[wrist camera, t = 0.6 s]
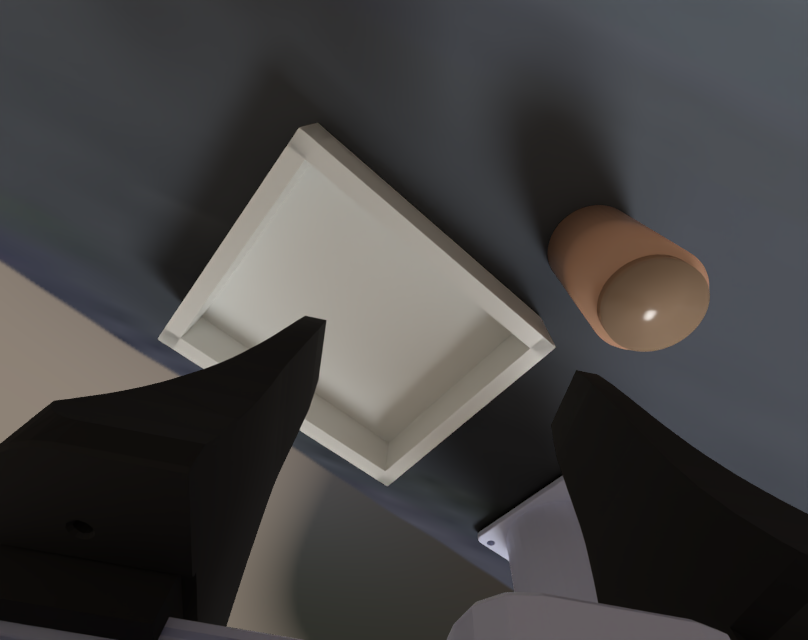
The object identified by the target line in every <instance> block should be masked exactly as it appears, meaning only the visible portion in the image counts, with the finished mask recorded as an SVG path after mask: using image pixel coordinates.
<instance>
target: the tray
mask: <svg viewBox="0 0 808 640" xmlns="http://www.w3.org/2000/svg"><path fill="white" fill-rule="evenodd" d="M304 316H309V317H314V318H319V319H324V320H327V321H326V328H325V336H324V343H323V350H322V358H321V365H320V373H319V380H318V383H317V386H316V390H315V393H314V396H313V399H312V402H311V405H310V408H309V410H308V413H307V415H306V417H305V419H304V421H303V423H302V426H301V428H300V431H302V432H303V433H305V434H306V435H308V436H309V437H311V438H313V439H314V440H316V441H317V442H319V443H320V444H322V445H324V446H325V447H327V448H328V449H330V450H331V451H333V452H334V453H336V454H338V455H339V456H341V457H342V458H344V459H345V460H347V461H349V462H350V463H352V464H353V465H355V466H356V467H358V468H359V469H361V470H363V471H364V472H366V473H367V474H369V475H370V476H372V477H374V478H375V479H377V480H378V481H380V482H381V483H383V484H384V485H386V486H389V485H390V484H391V483H392V482H393V481H395V480H396V479H397V478H398V477H399V476H401V475H402V474H403V473H404V472H406V471H407V470H408V469H409V468H410V467H412V466H413V465H414V464H415V463H416V462H418V461H419V460H420V459H421V458H422V457H424V456H425V455H426V454H427V453H429V452H430V451H431V450H432V449H433V448H435V447H436V446H437V445H438V444H439V443H441V442H442V441H443V440H444V439H446V438H447V437H448V436H449V435H450V434H452V433H453V432H454V431H455V430H456V429H458V428H459V427H460V426H461V425H462V424H464V423H465V422H466V421H467V420H469V419H470V418H471V417H472V416H473V415H475V414H476V413H477V412H478V411H479V410H481V409H482V408H483V407H484V406H485V405H487V404H488V403H489V402H490V401H492V400H493V399H494V398H495V397H496V396H498V395H499V394H500V393H501V392H502V391H504V390H505V389H506V388H507V387H509V386H510V385H511V384H512V383H513V382H515V381H516V380H517V379H518V378H519V377H521V376H522V375H523V374H524V373H525V372H527V371H528V370H529V369H530V368H532V367H533V366H534V365H535V364H536V363H538V362H539V361H540V360H541V359H542V358H544V357H545V356H546V355H547V354H549V353H550V352H551V351H552V350H553V349H555V348H556V347H555V345H554V343H553V341H552V339H551V337H550V335H549V333H548V331H547V329H546V327H545V325H544V323H543V321H542V319H541V317H540V316H539V315H538V314H536V313H535V312H534V311H533V310H532V309H531V308H529V307H528V306H527V305H526V304H525V303H524V302H523V301H521V300H520V299H519V298H518V297H517V296H516V295H515V294H513V293H512V292H511V291H510V290H509V289H508V288H507V287H505V286H504V285H503V284H502V283H501V282H500V281H499V280H497V279H496V278H495V277H494V276H493V275H492V274H491V273H489V272H488V271H487V270H486V269H485V268H484V267H483V266H481V265H480V264H479V263H478V262H477V261H476V260H475V259H473V258H472V257H471V256H470V255H469V254H468V253H466V252H465V251H464V250H463V249H462V248H461V247H460V246H458V245H457V244H456V243H455V242H454V241H453V240H452V239H450V238H449V237H448V236H447V235H446V234H445V233H444V232H442V231H441V230H440V229H439V228H438V227H437V226H436V225H434V224H433V223H432V222H431V221H430V220H429V219H428V218H426V217H425V216H424V215H423V214H422V213H421V212H420V211H418V210H417V209H416V208H415V207H414V206H413V205H412V204H410V203H409V202H408V201H407V200H406V199H405V198H404V197H402V196H401V195H400V194H399V193H398V192H397V191H395V190H394V189H393V188H392V187H391V186H390V185H389V184H387V183H386V182H385V181H384V180H383V179H382V178H381V177H379V176H378V175H377V174H376V173H375V172H374V171H373V170H371V169H370V168H369V167H368V166H367V165H366V164H365V163H363V162H362V161H361V160H360V159H359V158H358V157H357V156H355V155H354V154H353V153H352V152H351V151H350V150H349V149H347V148H346V147H345V146H344V145H343V144H342V143H341V142H339V141H338V140H337V139H336V138H335V137H334V136H333V135H331V134H330V133H329V132H328V131H327V130H326V129H324V128H323V127H322V126H321V125H320V124H319V123H314V124H310V125H306V126H302V127H299V128H298V130H297V131H296V133H295V134H294V136H293V137H292V139H291V140H290V142H289V143H288V145H287V146H286V148H285V149H284V151H283V152H282V154H281V155H280V157H279V158H278V160H277V161H276V163H275V164H274V166H273V167H272V169H271V170H270V172H269V173H268V175H267V176H266V178H265V179H264V181H263V182H262V184H261V185H260V187H259V188H258V190H257V191H256V193H255V194H254V196H253V197H252V199H251V200H250V202H249V203H248V205H247V206H246V208H245V209H244V211H243V212H242V213H241V215H240V216H239V218H238V219H237V221H236V222H235V224H234V225H233V227H232V228H231V230H230V231H229V233H228V234H227V236H226V237H225V239H224V240H223V242H222V243H221V245H220V246H219V248H218V249H217V251H216V252H215V254H214V255H213V257H212V258H211V260H210V261H209V263H208V264H207V266H206V267H205V269H204V270H203V272H202V273H201V275H200V276H199V278H198V279H197V281H196V282H195V284H194V285H193V287H192V288H191V290H190V291H189V293H188V294H187V296H186V297H185V299H184V300H183V302H182V303H181V305H180V306H179V308H178V309H177V311H176V312H175V314H174V315H173V317H172V318H171V320H170V321H169V323H168V324H167V326H166V327H165V329H164V330H163V332H162V333H161V335H160V336H159V338H158V340H159V341H161V342H163V343H164V344H166V345H167V346H169V347H170V348H172V349H173V350H175V351H177V352H178V353H180V354H181V355H183V356H184V357H186V358H188V359H189V360H191V361H192V362H194V363H195V364H197V365H199V366H200V367H202V368H203V369H205V368H208V367H210V366H213V365H216V364H218V363H221V362H223V361H225V360H228V359H230V358H232V357H234V356H237V355H239V354H240V353H242V352H244V351H246V350H248V349H250V348H252V347H254V346H256V345H258V344H260V343H262V342H263V341H265V340H267V339H268V338H270V337H272V336H273V335H275V334H277V333H278V332H280V331H281V330H283V329H284V328H286V327H288V326H289V325H291V324H292V323H294V322H295V321H297V320H299V319H300V318H302V317H304Z"/></svg>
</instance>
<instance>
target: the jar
mask: <svg viewBox="0 0 808 640" xmlns="http://www.w3.org/2000/svg"><path fill="white" fill-rule="evenodd" d="M548 261H549V265H550V267H551V269H552V271H553V272H554V274H555V275H556V277H557V278H558V280H559V281H560V282H561V284H562V285H563V287H564V288H565V289H566V291H567V292H568V294H569V295H570V297H571V298H572V299H573V301H574V302H575V304H576V305H577V307H578V308H579V309H580V311H581V312H582V314H583V315H584V317H585V318H586V319H587V321H588V322H589V324H590V325H591V326H592V328H593V329H594V331H595V332H596V334H597V335H598V336H599V337H600V338H601V339H603V340H604V341H605V342H607V343H609V344H610V345H612V346H615V347H618V348H622V349H627V350H633V351H643V352H647V351H656V350H660V349H664V348H667V347H669V346H672V345H674V344H676V343H678V342H680V341H681V340H683V339H684V338H686V337H687V336H688V335H689V334H691V333H692V332H693V331H694V330H695V329H696V327H697V326H698V325H699V324H700V322H701V321H702V319H703V318H704V316H705V314H706V311H707V308H708V305H709V298H710V293H709V280H708V275H707V272H706V270H705V268H704V266H703V265H702V263H701V262H700V261H699V260H698V259H697V258H696V257H695V256H694V255H692V254H691V253H689V252H688V251H686V250H684V249H683V248H681V247H679V246H678V245H676V244H674V243H673V242H671V241H670V240H668V239H666V238H665V237H663V236H661V235H660V234H658V233H656V232H655V231H653V230H651V229H650V228H648V227H646V226H645V225H643V224H641V223H640V222H638V221H636V220H635V219H633V218H631V217H630V216H628V215H626V214H625V213H623V212H622V211H620V210H618V209H616V208H614V207H610V206H606V205H592V206H587V207H584V208H581V209H578V210H576V211H574V212H573V213H571V214H570V215H568V216H567V217H566V218H564V219H563V220H562V221H561V222H560V223H559V225H558V226H557V227H556V229H555V230H554V232H553V234H552V236H551V238H550V241H549V244H548Z"/></svg>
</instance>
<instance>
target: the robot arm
mask: <svg viewBox="0 0 808 640" xmlns="http://www.w3.org/2000/svg"><path fill="white" fill-rule="evenodd" d="M326 321H327V320H324V319H319V318H314V317H309V316H304V317H302V318H300V319H299V320H297V321H295V322H294V323H292V324H291V325H289V326H288V327H286V328H284V329H283V330H281V331H280V332H278V333H277V334H275V335H273V336H272V337H270V338H268V339H267V340H265V341H263V342H262V343H260V344H258V345H256V346H254V347H252V348H250V349H248V350H246V351H244V352H242V353H240V354H239V355H237V356H234V357H232V358H230V359H228V360H225V361H223V362H221V363H218V364H216V365H213V366H210V367H208V368H205V369H203V370H200V371H197V372H193V373H190V374H187V375H184V376H180V377H177V378H174V379H171V380H167V381H164V382H160V383H156V384H152V385H148V386H143V387H139V388H134V389H129V390H124V391H119V392H114V393H108V394H101V395H94V396H87V397H80V398H73V399H65V400H57V401H53V402H52V403H51V404H50V405H48V406H47V407H45V408H44V409H43V410H42V411H40V412H39V413H38V414H37V415H35V416H34V417H33V418H32V419H30V420H29V421H28V422H27V423H25V424H24V425H23V426H22V427H20V428H19V429H18V430H17V431H15V432H14V433H13V434H12V435H11V436H9V437H8V438H7V439H6V440H5V441H3V442H2V443H1V444H0V640H302V639H296V638H290V637H284V636H279V635H273V634H267V633H261V632H255V631H249V630H243V629H237V628H231V627H226V626H227V622H228V619H229V616H230V613H231V610H232V606H233V603H234V600H235V597H236V594H237V591H238V588H239V585H240V582H241V579H242V576H243V573H244V570H245V567H246V563H247V560H248V558H249V555H250V552H251V548H252V546H253V543H254V540H255V537H256V534H257V531H258V528H259V525H260V522H261V519H262V517H263V514H264V511H265V508H266V505H267V502H268V499H269V497H270V494H271V491H272V488H273V486H274V484H275V481H276V479H277V476H278V474H279V472H280V470H281V467H282V465H283V463H284V461H285V459H286V457H287V455H288V453H289V451H290V449H291V447H292V444H293V442H294V440H295V438H296V436H297V434H298V432H299V430H300V428H301V426H302V423H303V421H304V419H305V417H306V415H307V413H308V410H309V408H310V405H311V402H312V399H313V396H314V393H315V390H316V386H317V383H318V380H319V373H320V365H321V358H322V350H323V343H324V336H325V328H326ZM551 428H552V434H553V441H554V446H555V451H556V456H557V460H558V463H559V466H560V469H561V472H562V475H563V476H561V477H559V478H558V479H556V480H555V481H554V482H552V483H551V484H549V485H548V486H546V487H545V488H543V489H542V490H540V491H539V492H537V493H536V494H534V495H533V496H531V497H530V498H528V499H527V500H526V501H524V502H523V503H521V504H520V505H518V506H517V507H515V508H514V509H512V510H511V511H509V512H508V513H506V514H505V515H503V516H502V517H500V518H499V519H498V520H496V521H495V522H493V523H492V524H490V525H489V526H487V527H486V528H484V529H483V530H481V531H480V532H479V533H478V541H479V542H480V543H482V544H483V545H485V546H486V547H488V548H490V549H491V550H493V551H494V552H496V553H497V554H499V555H500V556H502V557H504V558H505V559H507V560H508V561H509V562H510V568H511V574H512V579H513V585H514V591H515V592H505V593H502V594H499V595H496V596H493V597H490V598H487V599H484V600H481V601H477V602H476V603H475V604H473V606H472V607H471V608H470V609H468V610H467V612H465V613H464V614H463V616H461V617H460V618H459V619H458V621H457V622H456V623H454V625H453V627H452V629H451V631H450V634H449V636H448V638H447V640H808V514H807V513H805V512H803V511H801V510H799V509H797V508H795V507H793V506H791V505H789V504H787V503H785V502H783V501H782V500H780V499H778V498H776V497H774V496H772V495H771V494H769V493H767V492H765V491H763V490H762V489H760V488H758V487H756V486H755V485H753V484H751V483H749V482H748V481H746V480H744V479H742V478H741V477H739V476H737V475H736V474H734V473H733V472H731V471H729V470H728V469H726V468H725V467H723V466H722V465H720V464H718V463H717V462H715V461H714V460H712V459H711V458H709V457H707V456H706V455H704V454H703V453H702V452H700V451H699V450H697V449H696V448H694V447H693V446H691V445H690V444H689V443H687V442H686V441H685V440H683V439H682V438H680V437H679V436H678V435H676V434H675V433H674V432H672V431H671V430H670V429H668V428H667V427H666V426H664V425H663V424H662V423H660V422H659V421H658V420H657V419H655V418H654V417H653V416H651V415H650V414H649V413H648V412H646V411H645V410H644V409H643V408H641V407H640V406H639V405H638V404H636V403H635V402H634V401H633V400H631V399H630V398H629V397H628V396H626V395H625V394H624V393H623V392H621V391H620V390H619V389H617V388H616V387H615V386H613V385H612V384H611V383H609V382H608V381H607V380H605V379H604V378H602V377H600V376H599V375H597V374H592V373H587V372H582V371H577V370H576V372H575V374H574V376H573V379H572V381H571V383H570V385H569V387H568V389H567V392H566V394H565V396H564V398H563V400H562V403H561V405H560V407H559V409H558V411H557V413H556V416H555V418H554V420H553V422H552V424H551Z"/></svg>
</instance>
